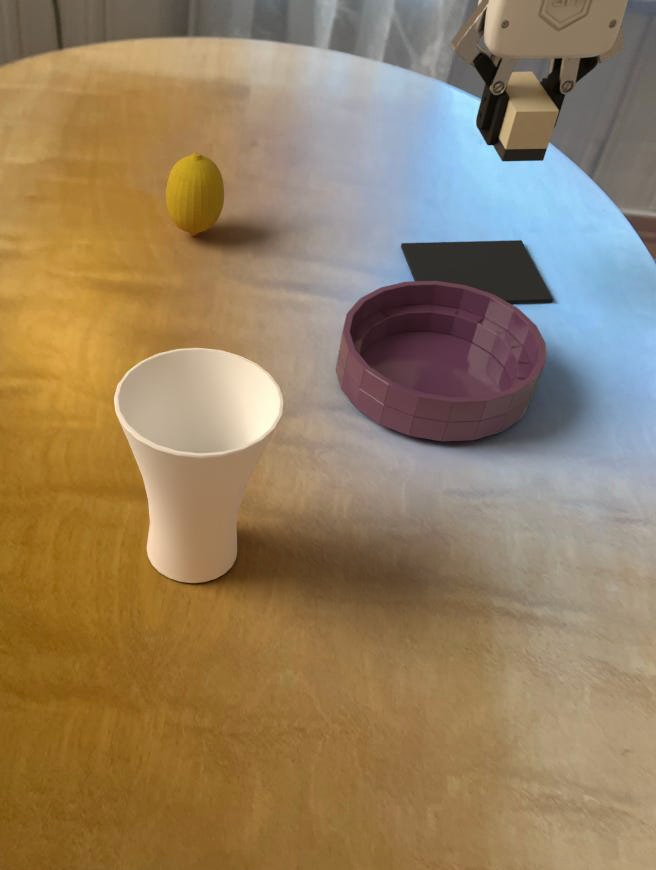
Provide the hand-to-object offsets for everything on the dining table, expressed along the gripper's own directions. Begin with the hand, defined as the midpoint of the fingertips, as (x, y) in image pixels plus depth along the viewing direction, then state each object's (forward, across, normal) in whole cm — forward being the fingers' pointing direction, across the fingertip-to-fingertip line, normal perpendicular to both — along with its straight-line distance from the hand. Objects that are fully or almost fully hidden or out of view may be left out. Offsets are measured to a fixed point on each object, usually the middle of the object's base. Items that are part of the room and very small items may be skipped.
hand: (512, 135), depth 84 cm
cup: (+14, -30, -33) cm, 46 cm away
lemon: (+14, -25, +9) cm, 30 cm away
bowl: (+14, -7, -15) cm, 21 cm away
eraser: (0, 0, 0) cm, 0 cm away
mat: (+14, +1, +1) cm, 14 cm away
